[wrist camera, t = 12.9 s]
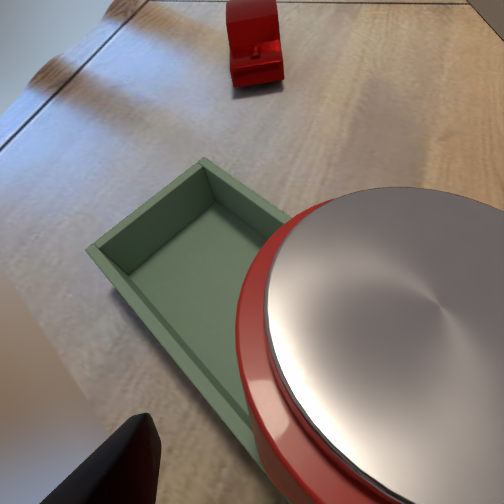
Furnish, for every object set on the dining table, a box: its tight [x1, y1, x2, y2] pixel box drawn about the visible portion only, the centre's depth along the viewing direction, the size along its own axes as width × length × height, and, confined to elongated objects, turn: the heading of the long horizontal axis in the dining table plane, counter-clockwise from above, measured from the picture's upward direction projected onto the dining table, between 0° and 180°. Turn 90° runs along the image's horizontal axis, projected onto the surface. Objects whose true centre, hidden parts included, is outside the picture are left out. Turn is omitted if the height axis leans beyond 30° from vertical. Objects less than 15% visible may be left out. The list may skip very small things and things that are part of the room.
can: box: [235, 187, 504, 504], centre depth 10 cm, size 6×6×12 cm
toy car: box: [226, 0, 284, 88], centre depth 35 cm, size 14×6×5 cm, turn 2°
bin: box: [85, 157, 293, 504], centre depth 19 cm, size 10×21×5 cm, turn 44°
